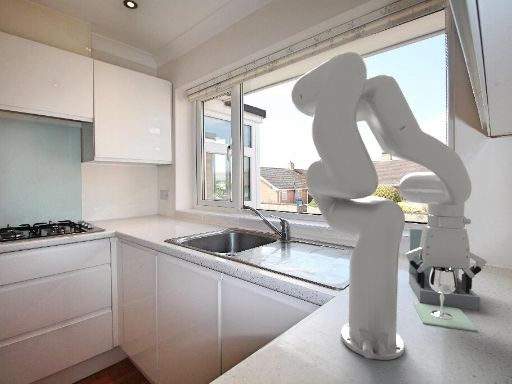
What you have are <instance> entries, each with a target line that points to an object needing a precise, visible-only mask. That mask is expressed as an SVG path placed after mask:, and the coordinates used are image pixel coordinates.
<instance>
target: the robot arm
mask: <svg viewBox="0 0 512 384" xmlns="http://www.w3.org/2000/svg"><path fill="white" fill-rule="evenodd" d="M290 93H291V94H290V95H291V100H292V104H293V105H294V107H295V109H296V110H298V112H300V113H301V114H303V115H305V116H308V117H311V118H313V119H312V124H311V137H312V141H313V145H314V147H315V150H316V151H317V153H318V156H319V157H317V158H315V159H313V160H312V162H311V163H310V164H309V166H308V167H307V171H306V185H307V188H308V191H309V193H310V195H311V197H312V199H313V201H314V202H315V204H316V207H317V208H318V210H319V212H320V214H321V216H322V217H323V219H324V221H325V222H326V224H327V225H328V226H329V228H330V229H332V230H333V232H336V233H338V234H341V235H343V236H344V235H346V236H349V237H353V238H355V239H358V240H357V243H356V245H355V247H353V249H352V251H351V254H350V256H349V273H348V274H349V279H348V280H349V283H348V285H349V286H348V323H347V324H345V325H344V326H343V327H342V328H341V333H340V336H341V341H342V342H343V344H345V345H346V346H347V348H348V349H350V350H351V351H353V352H354V353H357V354H359V355H360V356H362V357H364V358H366V359H371V360H372V359H373V360H382V361H389V360H395V359H397V358H399V357H401V356H402V355H403V354H404V352H405V347H406V346H405V341H404V339H403V338H402V337H401V336H400V335H399V334H398V333H397V326H398V325H397V322H398V321H397V320H398V319H397V318H398V317H397V316H398V285H399V283H398V280H399V277H398V276H399V275H398V273H399V256H400V255H399V254H400V246H401V242H402V237H403V233H404V229H405V223H406V217H405V216H406V215H405V212H404V210H403V208H402V207H401V205H400V204H398V203H397V202H396V201H394V200H392V199H391V198H387V197H383V196H373V194H374V193H375V192H376V191H377V189H378V188H379V176H378V173H377V169H376V167H375V164H374V163H373V161H372V157H371V155H370V153H369V151H368V149H367V147H366V145H365V142H364V140H363V138H362V134H361V133H360V130H359V127H358V123H359V122H365V123H366V124H367V126H368V128H369V130H370V131H371V133H372V135H373V136H374V138H375V140H376V142H377V143H378V145H379V146H380V148H381V150H382V151H383V152H384V153H385V154H387V155H390V156H392V157H395V158H398V159H401V160H403V161H408V162H412V163H414V164H418V165H419V166H422V167H424V168H425V169H428V170H429V171H426V172H425V171H424V172H423V171H422V172H421V171H418V172H417V171H416V172H412V173H411V172H410V173H408V174H406V175H405V176H403V178H401V179H400V182H399V185H398V190H399V191H398V192H399V194H400V196H401V197H402V198H403V199H404V200H406V201H407V202H411V203H414V204H415V203H417V204H428V206H427V223H426V225H423V227H422V229H423V230H422V235H421V241H420V248H417V249H415V250H412V251H409V250H408V251H407V252H405V253H404V254H405V257H406V259H407V261H408V264H409V263H410V264H411V265H412V266H413V267H414V268H415V269H416V282H417V283H418V284H419V286H420V287H421V288H422V289H425V286H424V281H425V274H424V272H423V271H424V270H425V269H426V268H427V267H428V266H431V267H441V268H452V269H459V270H462V272H463V273H461V279H460V280H461V289H462V290H463V291H464V292H465V293H468V294H469V293H470V289H471V290H472V288H473V279H474V278H475V276H476V275H478V274H479V273H480V272H481V271H482V269H483V268H484V267H485V266H486V264H487V260H486V259H484V258H482V257H480V256H478V255H476V254H475V253H473V252H471V250H470V247H471V246H470V241H469V240H470V239H469V234H468V230H467V229H466V228H465V226H466V225H471V223H472V219H471V218H467V217H466V216H465V204H466V202H467V201H468V200H469V199H470V198H471V194H472V189H473V188H472V182H471V178H470V175H469V172H468V170H467V168H466V166H465V164H464V162H463V160H462V158H461V156H460V155H459V154H458V152H456V151H455V150H454V149H453V148H451V147H450V146H448V145H447V144H446V143H444V142H443V141H441V140H440V139H438V138H436V137H434V135H433V136H432V135H430V134H428V133H427V132H425V131H424V130H422V128H421V127H420V124H419V123H418V121H417V118H416V117H415V115H414V113H413V111H412V109H411V107H410V105H409V103H408V101H407V99H406V97H405V95H404V93H403V90H402V89H401V87H400V85H399V83H398V81H397V80H396V79H395V78H394V77H393V76H391V75H390V74H384V73H383V74H376V75H373V76H370V77H368V70H367V65H366V62H365V60H364V58H363V57H362V56H361V55H360V54H359V53H357V52H355V51H354V52H353V51H348V52H343V53H340V54H338V55H335V56H333V57H331V58H330V59H327V60H325V61H324V62H322V63H321V64H319V65H318V66H317V67H315V68H313V69H311V70H309V71H308V72H306V73H305V74H303V75H301V76H300V77H299V78H298V79H297V80H296V81H295V82H294V84H293V86H292V89H291V92H290ZM416 255H419V258H420V260H421V261H420V262H419V263H418V264H417V263H416V262H415V261H414V259H413V257H414V256H416ZM471 260H473V261H475V263H474V265H472V266H471V267H470V265H471V264H470V263H471Z"/></svg>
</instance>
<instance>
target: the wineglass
mask: <svg viewBox="0 0 512 384" xmlns="http://www.w3.org/2000/svg"><path fill="white" fill-rule="evenodd" d="M429 283H430V286H431V287H430V286H429V287H430V288H431V289H432V291H436V292H437V293H440V294H441V295H440V301H441V305H440V306H441V309H440V311H437V310H435V311H432V312H431V314H432V315H434V316H435V317H438V318H441V319H452V316H451V315H450V314H448V313H446V312H444V311H443V301H444V294H451V293H455V291H457V290H456V286H457V282H456V276H455V272H454V270H453V269H451V268H441V267H432V269H431V272H430V276H429Z"/></svg>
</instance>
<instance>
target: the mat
mask: <svg viewBox="0 0 512 384" xmlns="http://www.w3.org/2000/svg"><path fill="white" fill-rule="evenodd" d="M412 306H414V308H415V310H416V313H417V314H418V316H419V318H420V321H421V322H422V324H424V325H431V326H436V327H442V328H449V329H451V328H452V329H456V330H463V331H468V332H477V333H478V328H476V326H475V325H474V324H473V323H472V322H471V321H470V319H469V318H468V317H467V316H466V315H465V313H464V312H463V311H462V310H461V308H458V307H450V306H443V311H444V312H446V313H448V314H450V315H451V316H452V319H441V318H438V317H435V316H434V315H432V314H431V312H432V311H435V310H437V311H440V309H441V305H435V304H427V303H420V302H413V303H412Z"/></svg>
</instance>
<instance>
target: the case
mask: <svg viewBox="0 0 512 384" xmlns="http://www.w3.org/2000/svg"><path fill="white" fill-rule="evenodd" d="M422 230H423V228H411V227H410V228H409V241H408V244H409V245H408V252H409V251H412V250H415V249H417V248H420V241H421V235H422ZM413 259H414V261H415V262H416V263H417V264H418V263H419V262H420V261H421V260H420V258H419V255H416V256H414V257H413ZM431 269H432V267H431V266H428V267H427V268H426V269H425V270H424V271H423V272H424V274H425V281H424V287H430V288H431V286H430V283H429V276H430V272H431ZM451 269H452V268H451ZM453 270H454V272H455V276H456V282H457V286H456V290H455V291H457V292H458V293H455V292H453V293H451V294H444V301H443V306H444V307H452V308H459V309H467V310H474V311H475V310H476V311H480V305H481V304H480V302H481V301H480V299H481V298H480V296H479V295H478V294H477V293H475V292H474V290H472V289H470V293H469V294H468V293H465V292H464V291H463V290H462V289H461V280H462V279H460V278H459V276H460V275H459V274H460V269H453ZM408 274H409V275H408V284H409V286H410V288H411V289H412V291H413V293H414V295H415V297H416V298H417V300H418V301H419V302H418V303H421V304H429V305H436V306H441V301H440V295H441V294H440V293H437V292H436V291H434V290H429V289H423V288H421V287H420V286H419V284H418V283H417V282H416V269H415V268H414V267H413V266H412V265H411V264H410V263H409V262H408Z"/></svg>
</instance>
